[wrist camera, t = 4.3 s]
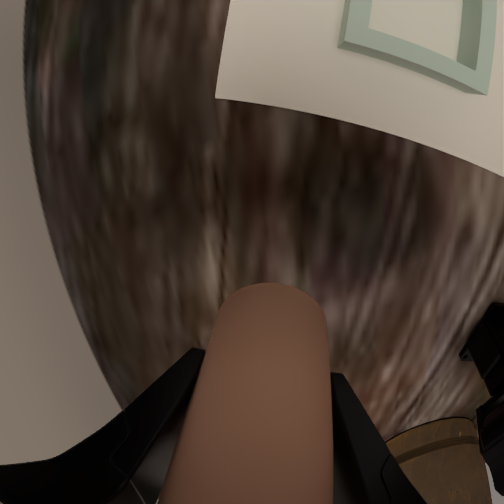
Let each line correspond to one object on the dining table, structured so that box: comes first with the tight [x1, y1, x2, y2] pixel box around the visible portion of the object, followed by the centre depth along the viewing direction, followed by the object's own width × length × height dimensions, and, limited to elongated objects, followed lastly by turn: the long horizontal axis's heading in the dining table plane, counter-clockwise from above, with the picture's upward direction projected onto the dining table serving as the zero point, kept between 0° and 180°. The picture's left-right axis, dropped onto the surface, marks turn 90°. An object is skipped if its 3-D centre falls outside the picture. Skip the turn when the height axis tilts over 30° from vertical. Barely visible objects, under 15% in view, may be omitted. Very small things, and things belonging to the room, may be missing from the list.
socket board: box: [215, 0, 504, 177], centre depth 11 cm, size 20×16×4 cm
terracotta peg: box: [157, 283, 333, 504], centre depth 8 cm, size 4×4×8 cm
